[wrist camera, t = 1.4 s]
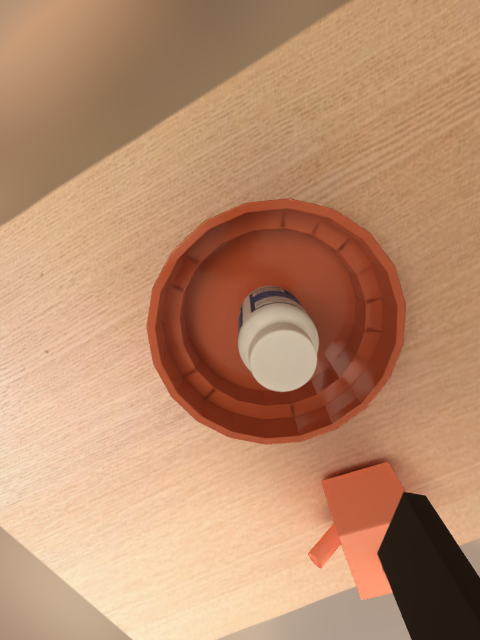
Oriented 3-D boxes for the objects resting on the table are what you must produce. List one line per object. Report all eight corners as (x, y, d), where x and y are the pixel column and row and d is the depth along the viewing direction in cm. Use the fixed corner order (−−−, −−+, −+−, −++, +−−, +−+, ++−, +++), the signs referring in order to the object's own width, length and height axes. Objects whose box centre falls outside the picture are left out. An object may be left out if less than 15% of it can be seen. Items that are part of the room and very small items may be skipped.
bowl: (232, 156, 26) (229, 140, 20) (419, 277, 28) (460, 292, 23) (129, 347, 30) (106, 375, 25) (299, 436, 33) (309, 478, 28)
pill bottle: (276, 355, 30) (291, 418, 21) (226, 322, 29) (219, 372, 20) (314, 307, 29) (349, 351, 19) (263, 271, 28) (274, 299, 18)
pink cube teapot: (288, 482, 34) (302, 561, 27) (404, 448, 33) (455, 520, 25) (310, 537, 37) (329, 625, 29) (420, 507, 35) (471, 590, 27)
